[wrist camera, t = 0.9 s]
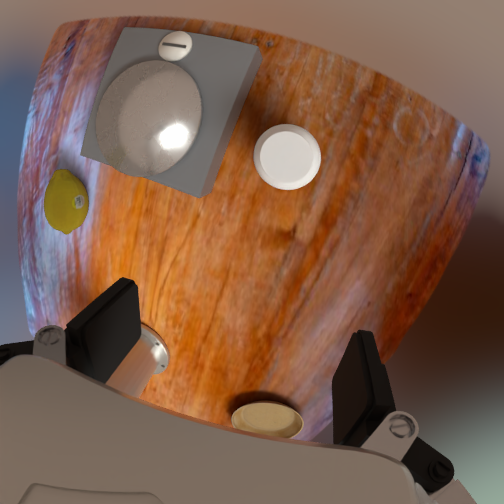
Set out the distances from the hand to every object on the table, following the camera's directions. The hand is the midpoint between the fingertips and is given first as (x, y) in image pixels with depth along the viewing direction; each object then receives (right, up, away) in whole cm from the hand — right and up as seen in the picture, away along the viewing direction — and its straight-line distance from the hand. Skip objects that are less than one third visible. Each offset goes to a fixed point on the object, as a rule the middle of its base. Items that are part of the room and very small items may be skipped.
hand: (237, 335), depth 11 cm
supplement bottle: (+5, +16, +24) cm, 29 cm away
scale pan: (-12, +20, +19) cm, 30 cm away
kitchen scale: (-11, +24, +23) cm, 35 cm away
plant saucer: (+4, -31, +41) cm, 51 cm away
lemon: (-29, +13, +30) cm, 43 cm away
